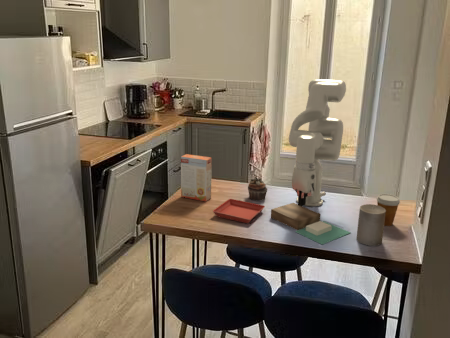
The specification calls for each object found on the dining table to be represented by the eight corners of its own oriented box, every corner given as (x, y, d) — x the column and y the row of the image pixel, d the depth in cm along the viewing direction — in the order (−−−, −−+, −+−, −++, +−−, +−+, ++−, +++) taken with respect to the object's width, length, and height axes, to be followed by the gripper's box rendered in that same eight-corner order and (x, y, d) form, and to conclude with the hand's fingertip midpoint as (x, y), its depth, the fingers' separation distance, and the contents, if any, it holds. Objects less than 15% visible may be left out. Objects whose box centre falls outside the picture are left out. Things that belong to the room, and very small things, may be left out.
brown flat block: (292, 210, 199) (293, 202, 198) (319, 222, 187) (320, 213, 186) (270, 217, 191) (271, 209, 190) (297, 230, 179) (298, 221, 178)
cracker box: (211, 198, 212) (212, 157, 206) (205, 202, 207) (206, 160, 201) (186, 193, 218) (186, 153, 212) (180, 197, 212) (180, 156, 206)
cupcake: (262, 202, 208) (264, 182, 205) (244, 199, 212) (245, 179, 209) (269, 196, 217) (270, 177, 214) (251, 193, 221) (252, 174, 218)
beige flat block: (331, 225, 179) (331, 230, 179) (320, 220, 183) (319, 225, 184) (317, 231, 173) (316, 235, 174) (306, 226, 178) (305, 230, 178)
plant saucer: (265, 212, 198) (265, 205, 197) (249, 226, 182) (250, 219, 181) (229, 204, 205) (229, 198, 204) (211, 218, 190) (211, 211, 189)
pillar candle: (374, 234, 177) (378, 200, 172) (386, 245, 167) (391, 209, 163) (351, 236, 175) (355, 201, 171) (363, 247, 166) (367, 210, 162)
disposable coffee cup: (385, 229, 182) (389, 202, 179) (368, 220, 190) (372, 195, 187) (401, 225, 186) (405, 199, 183) (384, 217, 194) (387, 192, 191)
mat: (323, 221, 188) (323, 221, 188) (350, 233, 178) (350, 232, 178) (295, 231, 177) (295, 231, 177) (322, 244, 167) (322, 244, 167)
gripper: (324, 167, 177) (320, 208, 183) (297, 158, 188) (294, 197, 194) (312, 171, 172) (309, 213, 178) (285, 162, 183) (282, 201, 189)
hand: (301, 205), depth 186 cm, fingers closed
